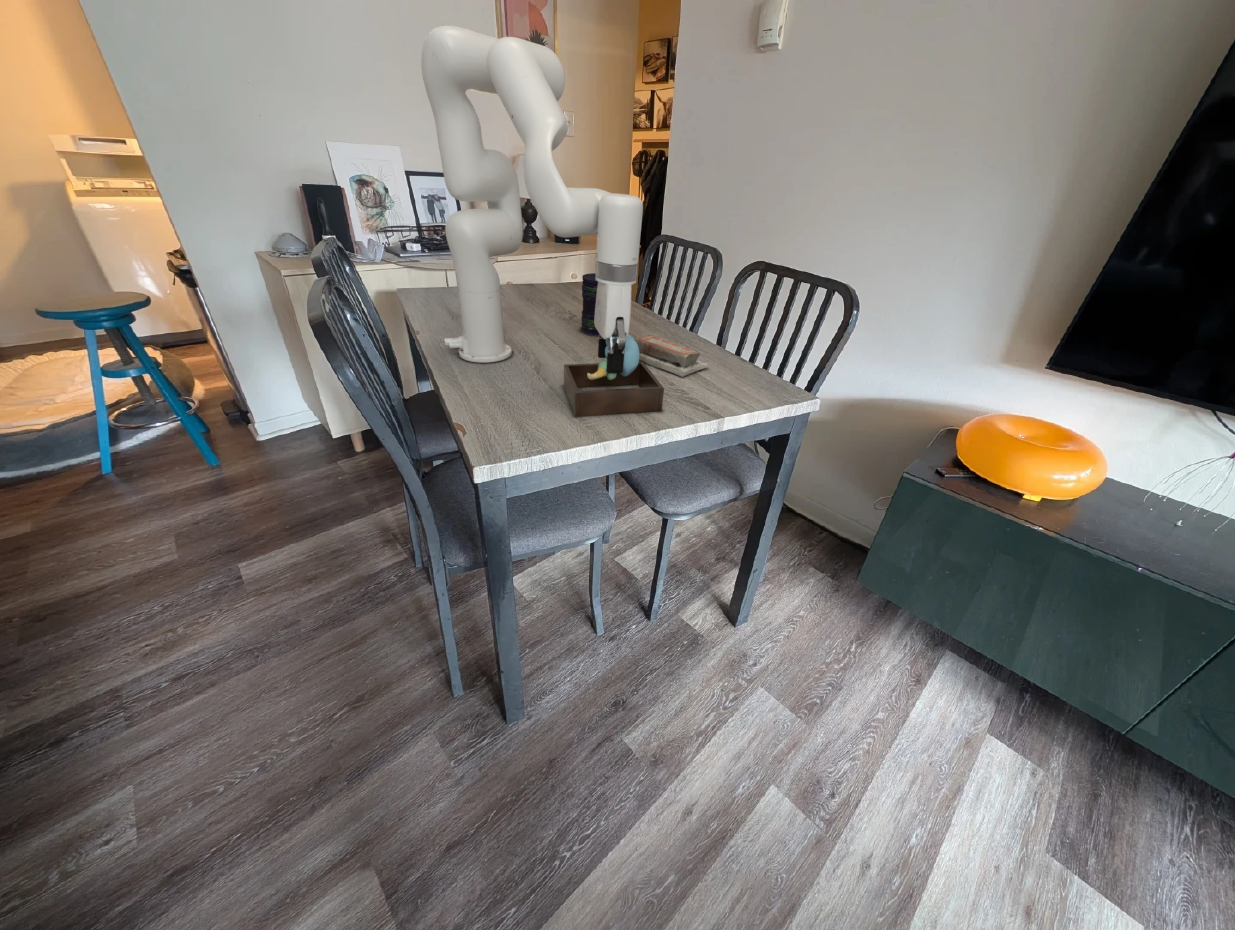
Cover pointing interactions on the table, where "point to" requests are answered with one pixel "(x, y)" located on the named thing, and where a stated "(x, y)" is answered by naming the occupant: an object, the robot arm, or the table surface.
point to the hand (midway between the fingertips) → (609, 364)
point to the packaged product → (668, 356)
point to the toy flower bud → (629, 360)
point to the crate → (612, 391)
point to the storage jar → (589, 304)
